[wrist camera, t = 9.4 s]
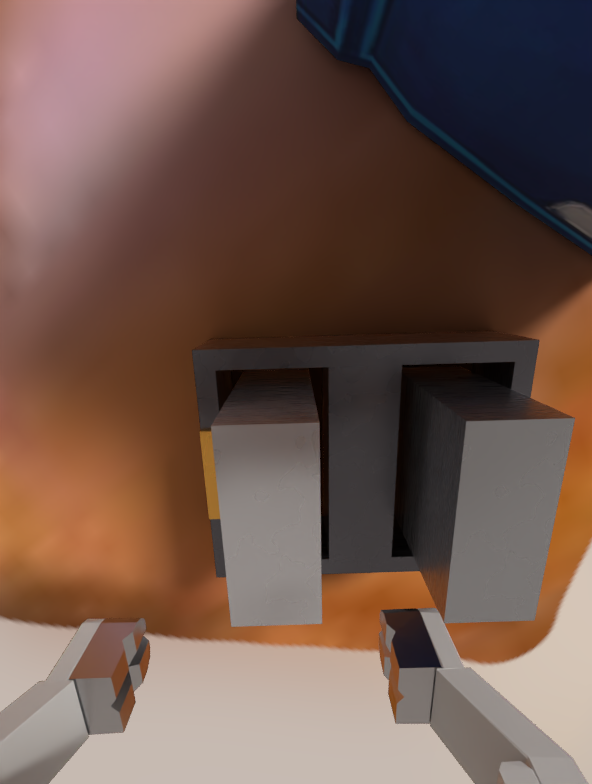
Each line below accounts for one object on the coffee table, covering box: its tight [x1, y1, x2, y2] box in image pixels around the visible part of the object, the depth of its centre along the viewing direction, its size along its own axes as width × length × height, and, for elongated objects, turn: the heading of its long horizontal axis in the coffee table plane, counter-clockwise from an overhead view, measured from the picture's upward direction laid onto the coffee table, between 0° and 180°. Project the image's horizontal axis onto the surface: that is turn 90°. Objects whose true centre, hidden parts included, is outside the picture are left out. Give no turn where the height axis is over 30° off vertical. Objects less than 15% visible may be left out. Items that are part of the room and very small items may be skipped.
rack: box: [192, 331, 575, 623], centre depth 18 cm, size 13×16×9 cm
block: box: [211, 369, 322, 627], centre depth 18 cm, size 9×4×9 cm, turn 2°
